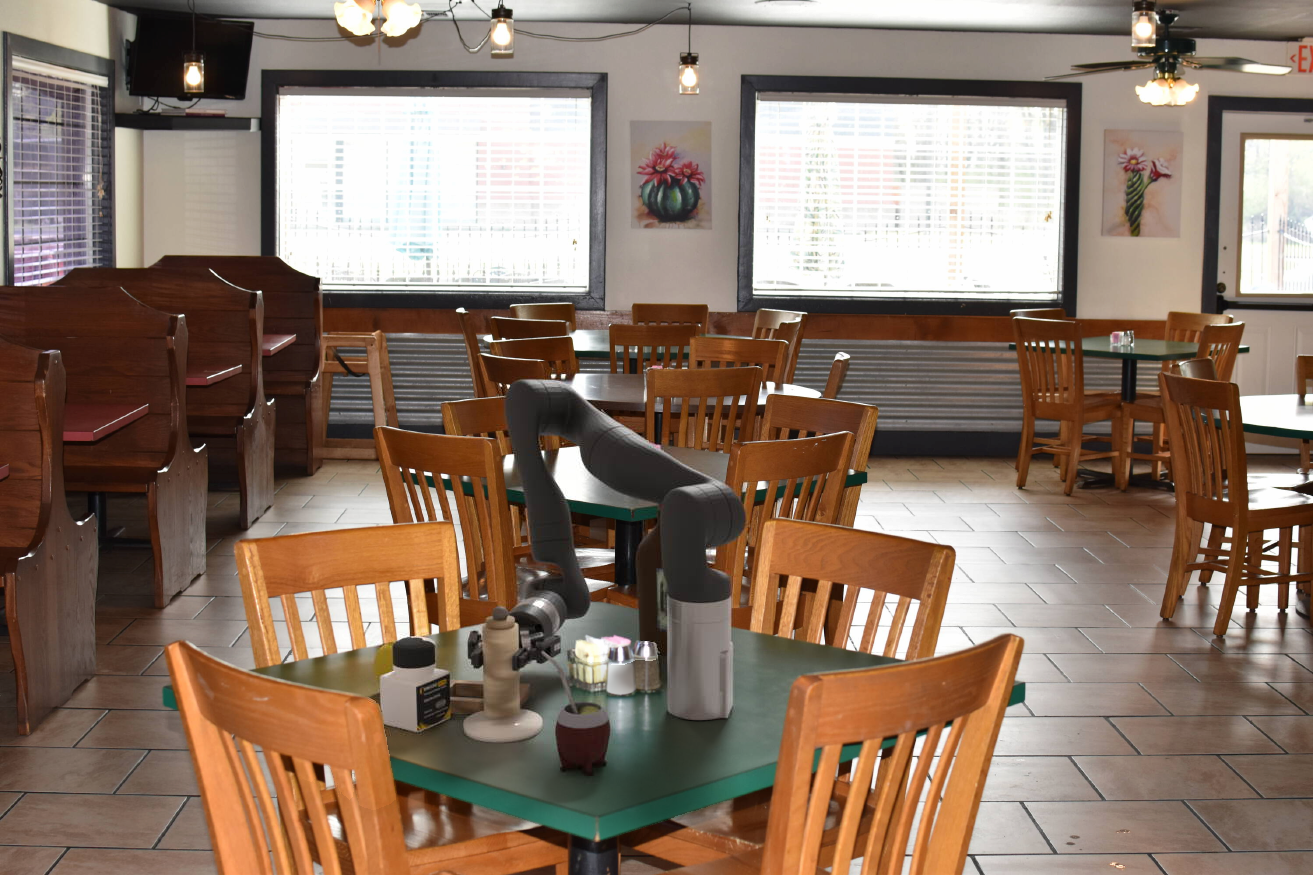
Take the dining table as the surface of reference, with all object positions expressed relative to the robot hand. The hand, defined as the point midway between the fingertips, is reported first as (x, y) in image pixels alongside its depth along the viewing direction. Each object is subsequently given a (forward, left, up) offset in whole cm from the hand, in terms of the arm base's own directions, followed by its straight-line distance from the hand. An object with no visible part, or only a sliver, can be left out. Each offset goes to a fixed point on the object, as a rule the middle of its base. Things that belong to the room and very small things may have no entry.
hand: (495, 662), depth 182 cm
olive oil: (-16, -45, -10) cm, 48 cm away
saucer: (0, -3, -10) cm, 11 cm away
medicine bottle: (+13, -3, -10) cm, 17 cm away
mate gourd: (-14, +9, -10) cm, 20 cm away
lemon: (+21, -15, -10) cm, 27 cm away
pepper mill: (0, -3, -8) cm, 8 cm away
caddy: (+6, -12, -10) cm, 17 cm away
